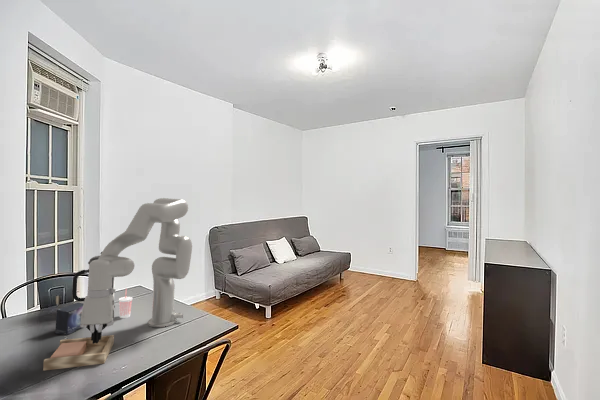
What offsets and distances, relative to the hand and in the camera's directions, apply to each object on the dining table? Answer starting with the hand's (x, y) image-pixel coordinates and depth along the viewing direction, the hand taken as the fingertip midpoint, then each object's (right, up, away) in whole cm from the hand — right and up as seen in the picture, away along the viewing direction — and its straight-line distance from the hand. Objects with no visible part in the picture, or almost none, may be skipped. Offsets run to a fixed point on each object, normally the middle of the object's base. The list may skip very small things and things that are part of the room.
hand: (96, 341), depth 118 cm
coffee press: (-30, -4, +48) cm, 57 cm away
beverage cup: (-11, -5, +39) cm, 41 cm away
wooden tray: (-5, -6, -1) cm, 7 cm away
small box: (-25, -5, +22) cm, 33 cm away
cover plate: (-8, -5, -2) cm, 10 cm away
